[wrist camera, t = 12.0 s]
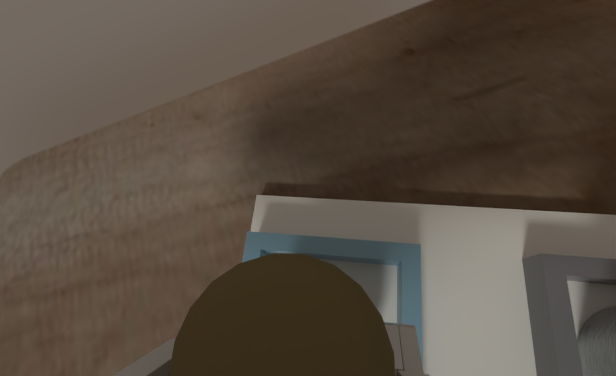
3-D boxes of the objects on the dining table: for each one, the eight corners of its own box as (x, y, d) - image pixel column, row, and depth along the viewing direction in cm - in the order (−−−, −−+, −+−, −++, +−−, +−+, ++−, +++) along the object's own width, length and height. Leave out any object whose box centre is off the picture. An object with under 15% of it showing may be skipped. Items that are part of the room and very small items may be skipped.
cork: (259, 280, 18) (130, 241, 7) (368, 267, 17) (393, 204, 7) (265, 409, 15) (92, 612, 5) (390, 397, 15) (479, 595, 5)
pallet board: (703, 225, 18) (765, 210, 16) (829, 602, 13) (957, 683, 10) (260, 199, 23) (247, 184, 20) (215, 473, 17) (189, 505, 15)
